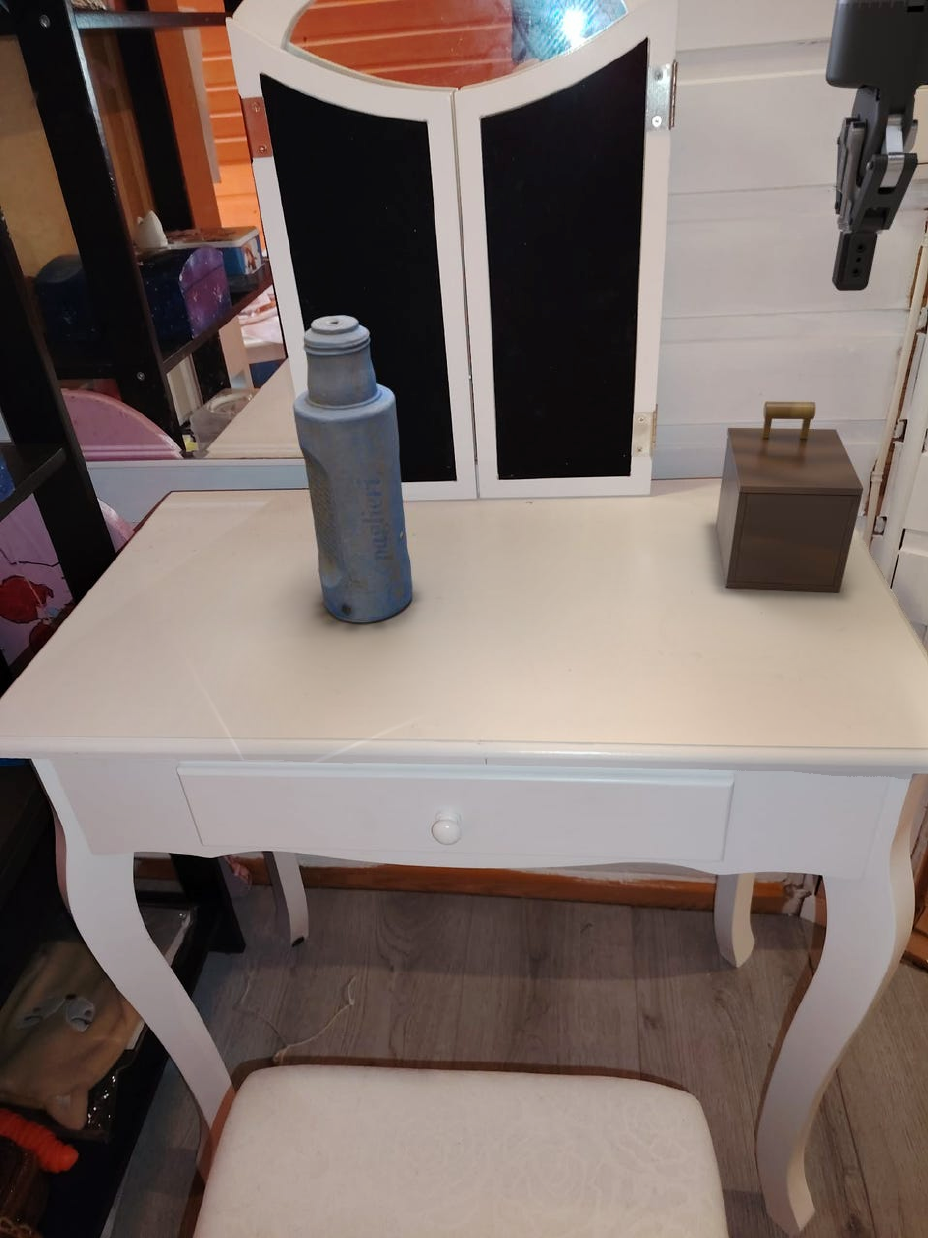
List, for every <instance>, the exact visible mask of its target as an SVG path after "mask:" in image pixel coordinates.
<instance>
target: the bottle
mask: <svg viewBox="0 0 928 1238" xmlns="http://www.w3.org/2000/svg"><path fill="white" fill-rule="evenodd" d="M310 325H311V326H310V328H309V329H307V330H306V331H305V332H304V335H303V338H302V339H303V340H302V341H303V347H302V348H303V351H304V352H305V356H306V364H307V378H306V379H307V380H306V386H307V390H305V391H303V392H300V394H298V396H297V397H296V398H295V400H294V402H293V404H292V410H293V411H292V412H293V418H294V424H295V430H296V436H297V442H298V446H299V448H300V452H301V453H302V456H303V459H304V463H305V464H304V465H305V469H306V470H305V471H306V479H307V484H308V485H307V486H308V492H309V498H310V503H311V510H312V515H313V525H314V531H315V538H316V539H315V540H316V543H317V544H316V545H317V562H318V566H317V567H318V570H317V571H318V577H319V581H320V587H321V592H322V593H321V594H322V597H323V603H324V606H325V608H326V609H327V611H329V613H330V614H332V615H333V616H335V617H336V618H338V619H341V620H344V621H347V622H353V623H370V622H376V621H381V620H385V619H387V618H390V617H392V616H394V615H396V614H398V613H400V612H401V611H403V610H404V609H405V608H406V606H407V605H408V604H409V603H410V602H411V600H412V599H413V577H412V566H411V565H412V564H411V559H410V558H411V557H410V554H409V550H408V541H407V531H406V516H405V509H404V508H405V507H404V498H403V496H404V495H403V485H402V476H401V462H400V437H399V425H398V418H397V404H396V395H395V394H394V392H393V391H392V390H391V389H390V388H389V387H386V386H385V385H383V384H379V383H377V378H376V372H375V369H374V365H373V362H372V358H371V348H370V343H371V337H370V331H369V329H368V328H367V327H365V326H363V325H361V324H359V321H358V319H356V318H355V317H353V316H350V315H349V316H348V315H332V316H330V315H329V316H323V317H320V318H317V319H315V320H313V321H312V323H311V324H310Z"/></svg>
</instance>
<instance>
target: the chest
mask: <svg viewBox="0 0 928 1238" xmlns="http://www.w3.org/2000/svg"><path fill="white" fill-rule="evenodd" d="M725 445H726V446H725V452H724V460H723V468H722V475H721V484H720V492H719V499H718V507H717V514H716V522H715V528H716V535H717V540H718V547H719V553H720V559H721V566H722V573H723V578H724V586H725V588H726V589H750V590H776V591H796V592H797V591H798V592H820V593H821V592H822V593H840V590H841V587H842V583H843V578H844V575H845V570H846V566H847V561H848V558H849V553H850V548H851V544H852V540H853V536H854V532H855V528H856V523H857V520H858V515H859V510H860V507H861V502H862V499H863V498H862V497H863V495H820V494H779V493H740V492H739V487H738V483H737V478H736V474H735V469H734V464H733V460H732V455H731V450H730V446H729V441H728V437H726V444H725Z"/></svg>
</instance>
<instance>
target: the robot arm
mask: <svg viewBox="0 0 928 1238" xmlns="http://www.w3.org/2000/svg"><path fill="white" fill-rule="evenodd" d="M826 62H827V63H826V69H825V78H824V79H825V81H826V83H827V85H829V86H831V87H833V88H838V89H851V90H856V93H855V97H854V101H853V105H852V108H851V114H850V116H845V117H844V118H843V119H842V123H841V127H840V132H839V134H838V136H837V139H836V145H837V154H836V155H837V157H836V158H837V159H836V183H835V203H834V208H833V209H834V210H835V211H834V212H835V215H838V217H837V221H836V225H837V228H838V230H839V236H838V237H839V238H838V243H837V247H836V254H835V259H834V265H833V270H832V277H831V283H832V284H833V286H834V287H835V288H836V290H837V291H840V292H858V291H859V292H861V291H863V290H865V289H867V287H868V286H869V283H870V277H871V273H872V267H873V262H874V258H875V257H874V256H875V253H876V247H877V242H878V236H879V235H882V234H883V232H884V231H889V230H891V227H892V225H893V223H894V220H895V217H896V215H897V214H898V212H899V208H900V207H901V204H902V202H903V199H904V197H905V196H906V192H907V190H908V188H909V186H910V184H911V181H912V179H913V176H914V174H915V172H916V170H917V168H918V164H919V159H918V153H917V152H911V151H912V150H913V149H914V147H915V144H916V139H917V134H918V129H919V119H918V118H914V114H915V113H914V112H915V104H916V97H915V95H916V94H917V90H918V89H919V88H920V87H922V86H923V87H924V86H928V0H836V3H835V9H834V16H833V22H832V30H831V37H830V43H829V49H828V56H827V61H826Z"/></svg>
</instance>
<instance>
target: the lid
mask: <svg viewBox="0 0 928 1238" xmlns="http://www.w3.org/2000/svg"><path fill="white" fill-rule="evenodd" d="M762 414H763V419H764V420H763V426H762V427H756V428H755V427H727V431H726V436H727V437H726V438H728V441H729V446H730V450H731V455H732V460H733V464H734V469H735V474H736V478H737V483H738V487H739V492H740V493H779V494H820V495H861V496H863V493H864V487H863V484H862V482H861V480H860V478H859V476H858V474H857V471H856V469H855V467H854V465H853V463H852V461H851V458H850V456H849V454H848V452H847V450H846V447H845V446H844V443H843V442H842V439H841V437H840V435H839V433H838V431H837V428H810V427H811V422H812V420H813V419H814V418H815V415H816V402H815V401H765V402H764V405H763V413H762ZM773 420H802V423H801V428H772V423H773Z"/></svg>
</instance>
